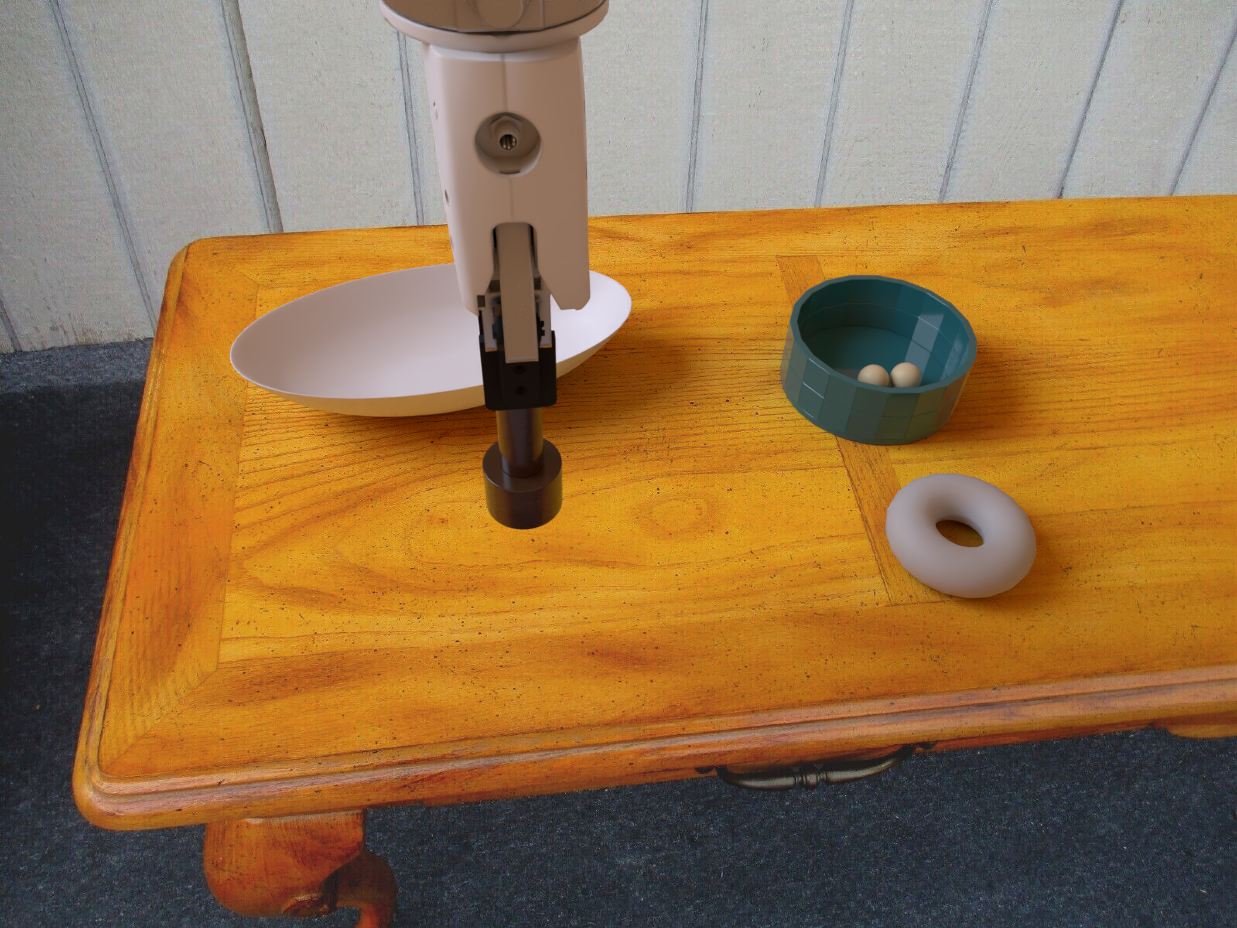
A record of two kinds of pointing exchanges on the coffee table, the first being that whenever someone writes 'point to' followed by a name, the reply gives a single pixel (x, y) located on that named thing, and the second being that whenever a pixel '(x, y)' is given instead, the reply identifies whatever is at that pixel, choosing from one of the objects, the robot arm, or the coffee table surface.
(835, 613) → the coffee table surface
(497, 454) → the muddler
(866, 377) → the chickpea
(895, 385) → the chickpea
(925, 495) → the donut
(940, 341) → the mixing bowl
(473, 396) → the bowl
